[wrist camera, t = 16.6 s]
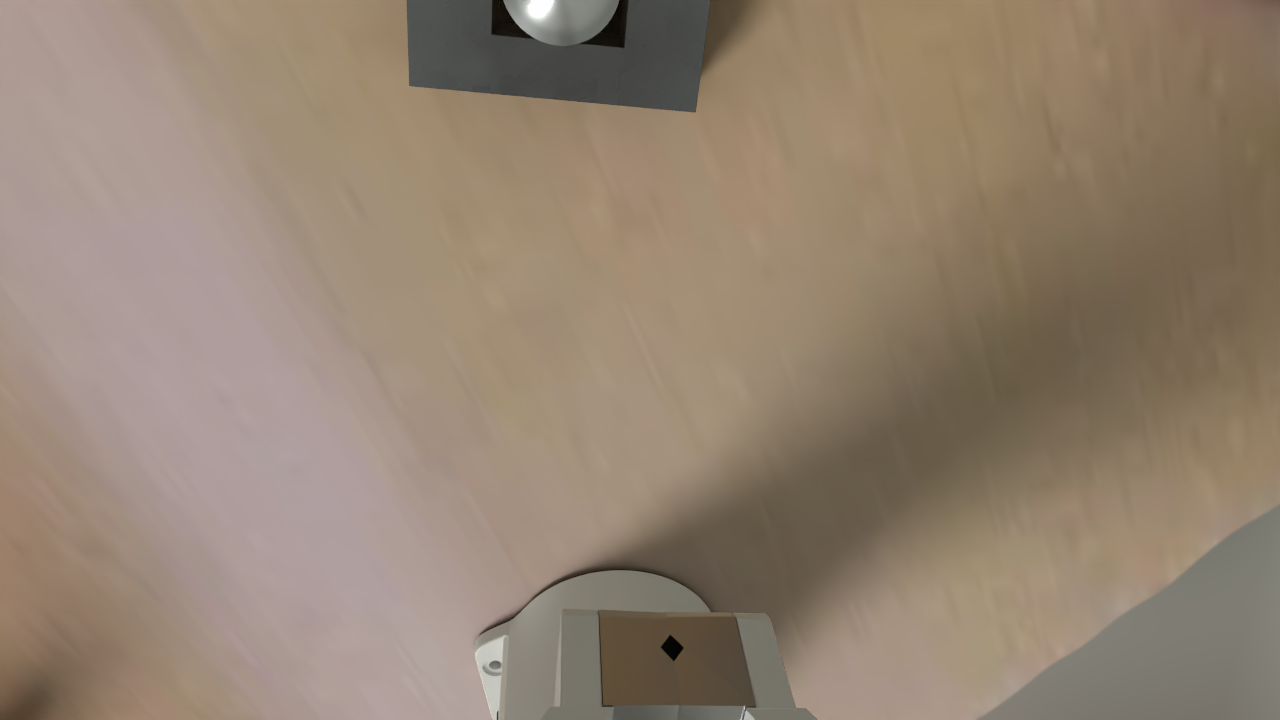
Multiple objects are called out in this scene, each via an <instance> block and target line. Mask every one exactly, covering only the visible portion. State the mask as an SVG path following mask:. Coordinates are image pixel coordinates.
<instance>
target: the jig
mask: <svg viewBox="0 0 1280 720" xmlns="http://www.w3.org/2000/svg"><path fill="white" fill-rule="evenodd" d="M503 1H504V3H505V6H506V8H507V10H508V12H509V13H510V15H511V17H512V18H513V19H514V21H515V22H516V23H517V24H510V23H500V22H499V0H407V23H408V56H409V86H415V87H426V88H437V89H448V90H459V91H469V92H480V93H491V94H502V95H513V96H524V97H534V98H545V99H556V100H567V101H578V102H588V103H599V104H610V105H621V106H632V107H642V108H653V109H664V110H675V111H686V112H696V106H697V98H698V91H699V84H700V76H701V69H702V61H703V54H704V47H705V39H706V32H707V24H708V17H709V10H710V2H711V0H622V9H621V21H620V32H619V35H617V34H608V33H599V32H600V31H601V30H602V29H603V28H604V27H605V26H606V25H607V24H608V23H609V21H610V20H611V18H612V17H613V15H614V13H615V11H616V8H617V6H618V3H619V0H503Z"/></svg>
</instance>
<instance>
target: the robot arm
mask: <svg viewBox="0 0 1280 720" xmlns="http://www.w3.org/2000/svg"><path fill="white" fill-rule="evenodd" d="M475 659H476V662H477V666H478V670H479V673H480V677H481V681H482V684H483V688H484V691H485V695H486V699H487V702H488V706H489V709H490V713H491V717H492V720H817V719H816V718H815V717H814V716H813V715H812V714H811V713H810V712H809V711H808V710H807V709H805V708H796V706H795V703H794V699H793V696H792V692H791V689H790V685H789V682H788V678H787V675H786V671H785V668H784V664H783V661H782V657H781V654H780V650H779V647H778V643H777V640H776V636H775V633H774V629H773V626H772V622H771V619H770V618H769V616H768V615H767V614H766V613H732V614H731V613H727V612H711V611H710V610H709V608H708V607H707V605H706V604H705V603H704V602H703V601H702V600H701V599H700V598H699V597H698V596H697V595H696V594H695V593H693V592H692V591H691V590H689V589H688V588H686V587H685V586H683V585H681V584H679V583H677V582H675V581H673V580H670V579H668V578H665V577H662V576H659V575H655V574H651V573H646V572H639V571H627V570H613V571H602V572H595V573H589V574H585V575H581V576H578V577H574V578H571V579H568V580H566V581H564V582H561V583H559V584H557V585H555V586H553V587H551V588H549V589H548V590H546V591H544V592H543V593H541V594H540V595H539V596H537V597H536V598H535V599H534V600H532V601H531V602H530V603H529V604H528V605H527V606H526V607H525V608H524V609H523V610H522V611H521V612H520V613H519V614H518V615H517V616H516V617H515V618H513V619H512V620H510V621H509V622H506V623H504V624H501V625H499V626H497V627H494V628H492V629H490V630H488V631H486V632H485V633H483V634H481V635H480V636H479V637H478V638H477V639H476V641H475Z"/></svg>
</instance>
